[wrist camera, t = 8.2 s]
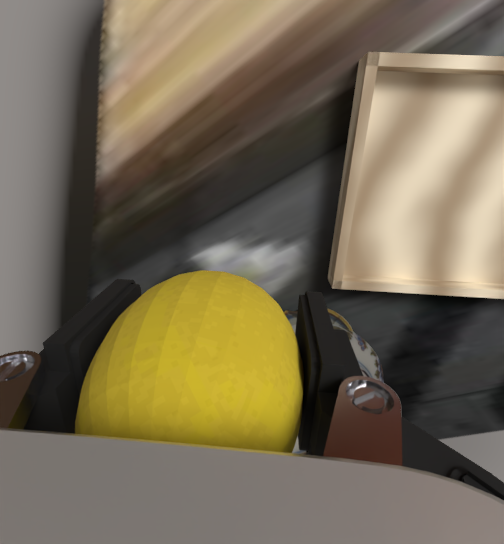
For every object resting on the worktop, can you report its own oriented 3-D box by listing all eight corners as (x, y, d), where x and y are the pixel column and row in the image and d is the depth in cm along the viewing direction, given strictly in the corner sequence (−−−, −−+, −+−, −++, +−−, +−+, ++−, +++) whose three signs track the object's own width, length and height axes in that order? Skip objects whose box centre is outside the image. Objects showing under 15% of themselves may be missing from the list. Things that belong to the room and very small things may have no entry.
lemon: (324, 304, 12) (403, 557, 5) (231, 384, 14) (183, 660, 6) (214, 207, 11) (89, 338, 4) (128, 308, 13) (-73, 535, 5)
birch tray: (632, 70, 23) (672, 62, 21) (537, 290, 30) (560, 302, 28) (358, 60, 24) (368, 52, 22) (327, 277, 31) (332, 288, 28)
